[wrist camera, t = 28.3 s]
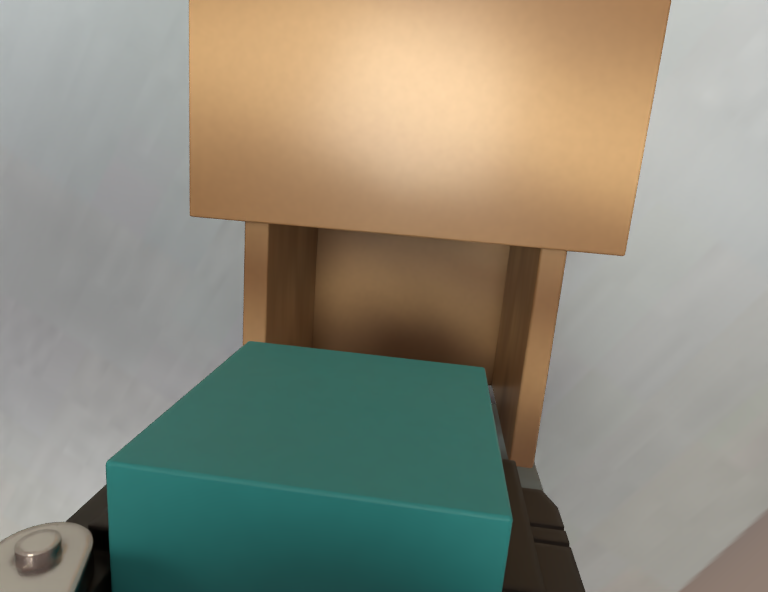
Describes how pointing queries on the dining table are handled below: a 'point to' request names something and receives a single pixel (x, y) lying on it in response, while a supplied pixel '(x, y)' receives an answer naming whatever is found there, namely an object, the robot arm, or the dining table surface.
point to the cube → (314, 480)
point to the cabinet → (425, 116)
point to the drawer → (414, 309)
